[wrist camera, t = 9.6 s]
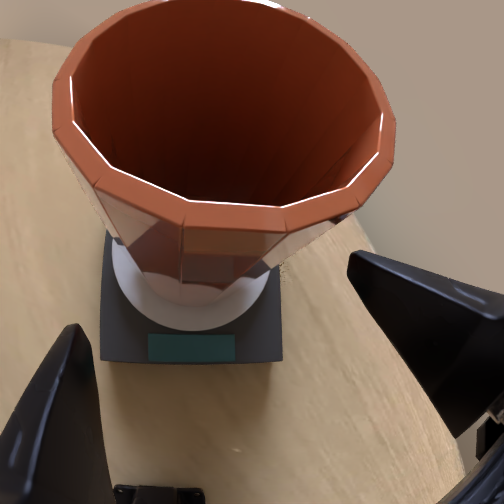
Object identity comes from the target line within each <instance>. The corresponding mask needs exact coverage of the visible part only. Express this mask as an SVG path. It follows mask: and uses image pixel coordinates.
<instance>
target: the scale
mask: <svg viewBox="0 0 504 504" xmlns="http://www.w3.org/2000/svg"><path fill="white" fill-rule="evenodd" d="M100 359H101V360H103V361H115V362H128V363H145V364H174V365H216V364H246V363H263V362H278V361H283V353H282V321H281V295H280V272H279V264H278V265H276V266H275V267H273V268H272V269H270V270H269V271H267V272H266V273H264V274H263V275H261V276H260V277H258V278H257V279H255V280H254V281H252V282H251V283H249V284H248V285H246V286H245V287H243V288H242V289H240V290H239V291H237V292H236V293H234V294H233V295H231V296H230V297H228V298H226V299H224V300H221V301H219V302H217V303H215V304H211V305H209V306H205V307H184V306H178V305H176V304H173V303H170V302H168V301H166V300H164V299H162V298H161V297H159V296H157V295H156V294H155V293H154V292H153V291H152V290H151V289H150V288H149V286H148V285H147V284H146V283H145V282H144V281H143V280H142V279H141V277H140V276H139V275H138V273H137V272H136V270H135V269H134V268H133V266H132V265H131V263H130V262H129V261H128V259H127V258H126V256H125V255H124V253H123V252H122V250H121V249H120V248H119V246H118V245H117V243H116V242H115V240H114V239H113V237H112V236H111V234H110V233H109V231H108V230H107V229H106V237H105V246H104V256H103V267H102V281H101V301H100Z"/></svg>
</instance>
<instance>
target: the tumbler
mask: <svg viewBox="0 0 504 504" xmlns="http://www.w3.org/2000/svg"><path fill="white" fill-rule="evenodd" d="M52 133H53V135H54V138H55V140H56V142H57V144H58V146H59V148H60V150H61V152H62V153H63V155H64V157H65V159H66V161H67V163H68V165H69V166H70V168H71V170H72V172H73V174H74V175H75V177H76V179H77V181H78V182H79V184H80V186H81V188H82V189H83V191H84V193H85V194H86V196H87V198H88V199H89V201H90V203H91V204H92V206H93V207H94V209H95V211H96V212H97V214H98V215H99V217H100V219H101V220H102V222H103V223H104V225H105V226H106V228H107V230H108V231H109V233H110V234H111V236H112V237H113V239H114V240H115V242H116V243H117V245H118V246H119V248H120V249H121V250H122V252H123V253H124V255H125V256H126V258H127V259H128V261H129V262H130V263H131V265H132V266H133V268H134V269H135V270H136V272H137V273H138V275H139V276H140V277H141V279H142V280H143V281H144V282H145V283H146V284H147V285H148V286H149V288H150V289H151V290H152V291H153V292H154V293H155V294H156V295H157V296H159V297H161V298H162V299H164V300H166V301H168V302H170V303H173V304H176V305H178V306H184V307H205V306H209V305H211V304H215V303H217V302H219V301H221V300H224V299H226V298H228V297H230V296H231V295H233V294H234V293H236V292H237V291H239V290H240V289H242V288H243V287H245V286H246V285H248V284H249V283H251V282H252V281H254V280H255V279H257V278H258V277H260V276H261V275H263V274H264V273H266V272H267V271H269V270H270V269H272V268H273V267H275V266H276V265H278V264H279V263H281V262H282V261H284V260H285V259H287V258H288V257H290V256H291V255H293V254H294V253H296V252H297V251H299V250H300V249H302V248H303V247H305V246H306V245H307V244H309V243H310V242H312V241H313V240H315V239H316V238H318V237H319V236H321V235H322V234H323V233H325V232H326V231H328V230H329V229H331V228H332V227H334V226H335V225H337V224H338V223H339V222H341V221H342V220H344V219H345V218H347V217H348V216H349V215H351V214H352V213H354V212H355V211H357V210H358V209H359V208H361V207H362V206H363V204H364V203H365V202H366V201H367V199H368V198H369V197H370V196H371V194H372V193H373V192H374V191H375V189H376V188H377V186H379V184H380V183H381V181H382V180H383V179H384V178H385V176H386V175H387V174H388V173H389V171H390V170H391V168H392V166H393V163H394V151H395V136H396V119H395V117H394V114H393V111H392V109H391V106H390V104H389V101H388V99H387V96H386V94H385V92H384V89H383V87H382V84H381V82H380V81H379V79H378V78H377V76H376V75H375V74H374V72H373V71H372V70H371V69H370V68H369V66H368V65H367V64H366V63H365V62H364V61H363V60H362V58H361V57H360V56H359V55H358V54H357V53H356V52H355V50H354V49H353V48H352V47H351V46H350V45H348V43H346V42H345V41H344V40H342V39H341V38H340V37H338V36H337V35H335V34H334V33H332V32H331V31H330V30H328V29H326V28H325V27H324V26H322V25H321V24H319V23H318V22H316V21H314V20H313V19H311V18H309V17H307V16H305V15H303V14H301V13H298V12H295V11H293V10H291V9H288V8H286V7H283V6H280V5H278V4H275V3H272V2H269V1H267V0H150V1H147V2H144V3H141V4H138V5H135V6H132V7H129V8H127V9H124V10H122V11H119V12H118V13H115V14H114V15H112V16H111V17H110V18H108V19H106V20H105V21H104V22H102V23H101V24H99V25H98V26H97V27H95V28H94V29H93V30H91V31H90V32H89V33H87V34H86V35H85V36H83V37H82V38H81V39H80V40H79V41H78V42H77V43H76V44H75V46H74V47H73V49H72V50H71V52H70V54H69V55H68V57H67V58H66V60H65V62H64V63H63V65H62V66H61V68H60V70H59V72H58V73H57V75H56V77H55V79H54V81H53V84H52Z"/></svg>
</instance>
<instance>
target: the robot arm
mask: <svg viewBox="0 0 504 504" xmlns="http://www.w3.org/2000/svg"><path fill="white" fill-rule="evenodd" d="M347 277H348V279H349V281H350V282H351V284H352V285H353V287H354V289H355V290H356V292H357V294H358V295H359V297H360V299H361V300H362V302H363V304H364V305H365V307H366V308H367V310H368V312H369V313H370V314H371V316H372V317H373V319H374V320H375V321H376V323H377V324H378V325H379V327H380V328H381V329H382V331H383V332H384V334H385V335H386V336H387V338H388V339H389V341H390V342H391V343H392V345H393V346H394V348H395V349H396V350H397V352H398V353H399V355H400V356H401V358H402V359H403V360H404V362H405V363H406V365H407V366H408V368H409V369H410V371H411V372H412V373H413V375H414V376H415V378H416V379H417V381H418V382H419V384H420V385H421V387H422V388H423V390H424V391H425V393H426V394H427V396H428V397H429V399H430V401H431V402H432V404H433V405H434V407H435V409H436V410H437V412H438V413H439V415H440V416H441V418H442V420H443V421H444V423H445V424H446V426H447V428H448V429H449V431H450V433H451V434H452V436H453V437H454V438H455V439H456V438H457V437H459V436H460V435H461V434H462V433H463V432H465V431H466V430H467V429H468V428H469V427H470V426H471V425H473V424H474V423H475V422H476V421H477V420H478V419H479V418H480V417H481V416H482V415H483V414H484V413H485V412H487V413H488V414H489V415H490V416H489V417H488V418H487V419H486V420H485V421H484V423H483V424H482V425H481V426H480V427H479V428H478V429H477V443H476V458H477V459H478V460H479V462H478V463H477V464H476V466H475V467H474V468H473V469H472V470H471V471H470V472H469V473H468V474H467V475H466V476H465V477H464V478H463V479H462V480H461V481H460V482H459V483H458V484H457V485H456V486H455V487H454V488H453V489H452V490H451V491H450V492H449V493H448V494H447V495H445V496H444V497H443V498H442V499H441V500H440V501H439V502H438V503H436V504H504V295H503V294H500V293H496V292H492V291H489V290H485V289H482V288H479V287H475V286H472V285H468V284H465V283H462V282H459V281H456V280H453V279H450V278H449V279H448V278H447V277H444V276H441V275H438V274H435V273H432V272H429V271H426V270H423V269H420V268H417V267H414V266H411V265H408V264H404V263H401V262H398V261H395V260H392V259H389V258H386V257H382V256H379V255H376V254H373V253H370V252H366V251H363V250H358V251H355V252H352V253H351V254H350V256H349V262H348V268H347ZM14 410H15V411H13V413H12V415H11V417H10V418H9V420H8V422H7V424H6V426H5V428H4V430H3V432H2V434H1V435H0V504H205V495H204V492H203V490H202V489H199V488H174V487H156V486H129V485H120V484H118V485H115V486H114V489H112V484H111V480H110V475H109V470H108V464H107V459H106V453H105V446H104V439H103V432H102V424H101V415H100V404H99V394H98V387H97V381H96V375H95V369H94V362H93V355H92V348H91V344H90V342H89V340H88V338H87V337H86V335H85V333H84V331H83V329H82V328H81V326H80V325H79V324H77V323H75V324H71V325H67V326H66V327H65V328H64V329H63V331H62V332H61V334H60V335H59V337H58V338H57V340H56V341H55V343H54V344H53V346H52V347H51V349H50V350H49V352H48V353H47V355H46V357H45V358H44V360H43V361H42V363H41V364H40V366H39V368H38V369H37V371H36V373H35V374H34V376H33V377H32V379H31V381H30V383H29V384H28V386H27V388H26V389H25V391H24V393H23V395H22V396H21V398H20V400H19V402H18V404H17V405H16V407H15V409H14ZM118 490H122V491H123V492H119V491H118ZM195 493H199V494H200V495H198V496H196V495H194V494H195ZM114 496H115V497H114ZM115 500H116V501H115Z"/></svg>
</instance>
